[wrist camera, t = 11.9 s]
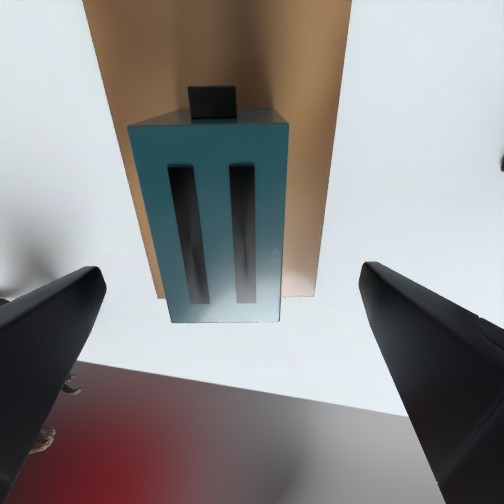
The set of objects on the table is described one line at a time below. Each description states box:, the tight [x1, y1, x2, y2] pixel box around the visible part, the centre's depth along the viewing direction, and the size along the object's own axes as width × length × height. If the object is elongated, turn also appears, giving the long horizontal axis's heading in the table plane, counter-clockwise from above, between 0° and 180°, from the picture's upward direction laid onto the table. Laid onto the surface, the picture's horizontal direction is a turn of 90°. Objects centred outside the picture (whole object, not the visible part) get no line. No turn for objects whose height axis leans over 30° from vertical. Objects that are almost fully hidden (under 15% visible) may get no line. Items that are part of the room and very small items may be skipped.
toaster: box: [127, 85, 290, 323], centre depth 16 cm, size 11×6×8 cm, turn 1°
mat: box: [82, 0, 352, 299], centre depth 19 cm, size 14×22×1 cm, turn 1°
